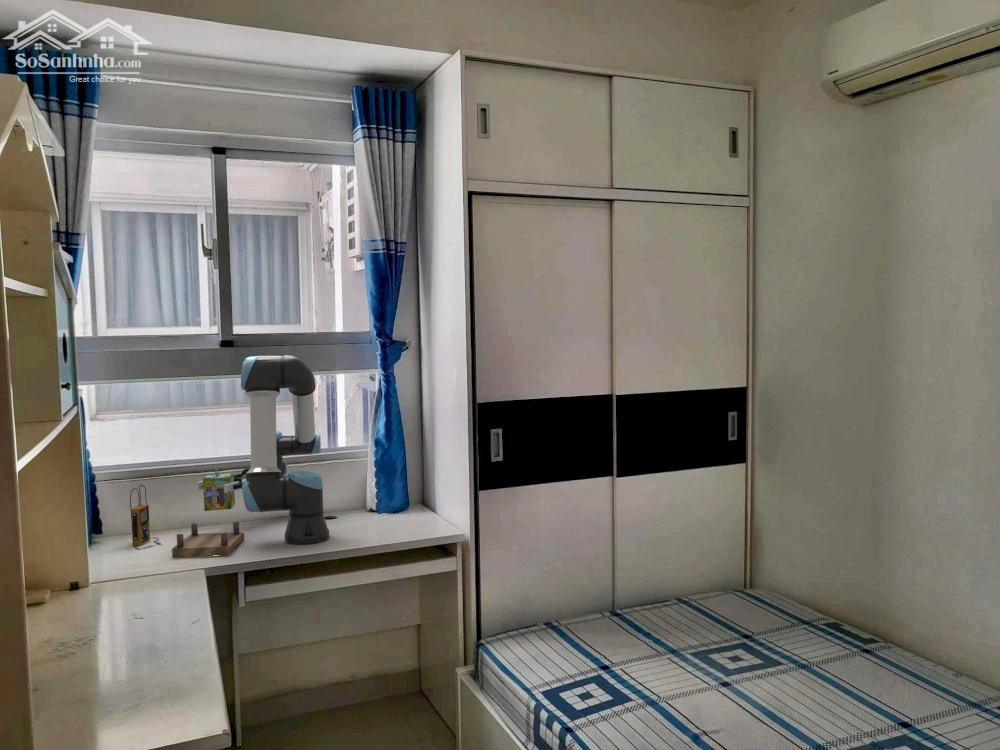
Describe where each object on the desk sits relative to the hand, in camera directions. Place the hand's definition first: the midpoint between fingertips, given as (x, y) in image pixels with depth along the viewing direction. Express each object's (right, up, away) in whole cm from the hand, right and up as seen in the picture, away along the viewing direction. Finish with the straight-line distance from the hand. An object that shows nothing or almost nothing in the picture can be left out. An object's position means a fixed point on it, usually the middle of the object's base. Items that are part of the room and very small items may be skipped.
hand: (211, 487), depth 272 cm
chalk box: (+2, -8, +4) cm, 9 cm away
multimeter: (-19, -19, -5) cm, 27 cm away
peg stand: (+4, -19, -13) cm, 23 cm away
